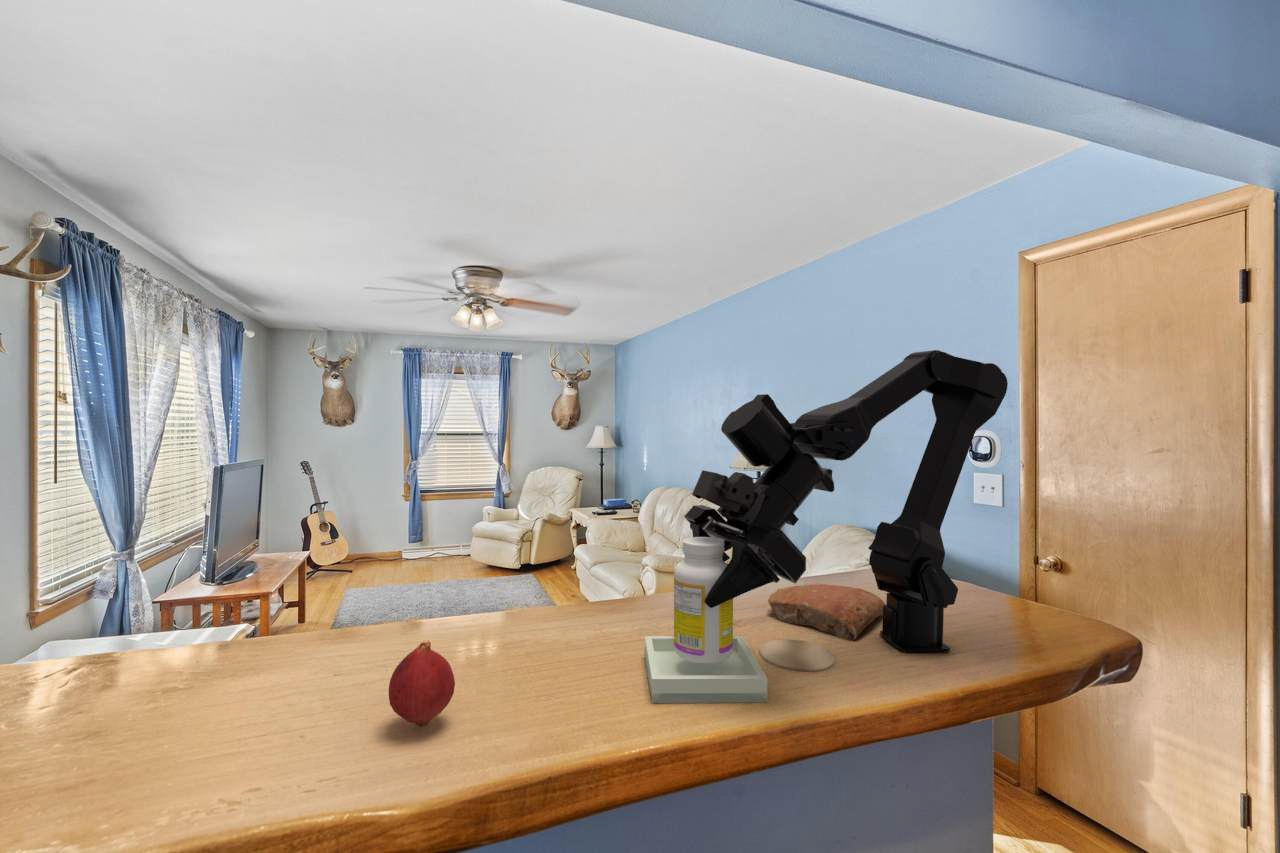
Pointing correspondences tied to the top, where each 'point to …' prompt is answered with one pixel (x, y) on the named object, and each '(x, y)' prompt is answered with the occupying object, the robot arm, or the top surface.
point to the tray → (703, 675)
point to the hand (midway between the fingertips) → (692, 595)
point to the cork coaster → (797, 655)
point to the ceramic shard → (827, 608)
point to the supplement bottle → (701, 604)
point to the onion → (421, 685)
